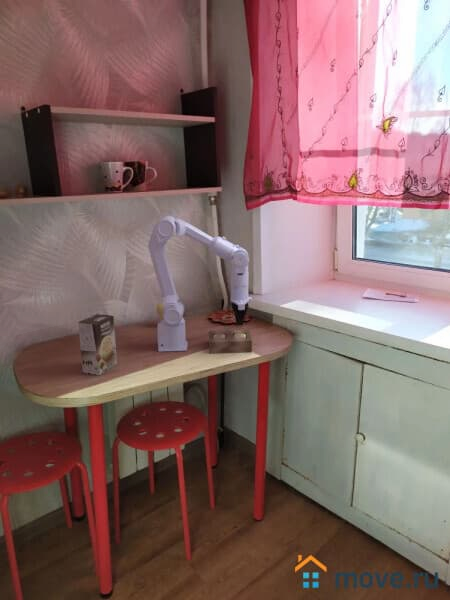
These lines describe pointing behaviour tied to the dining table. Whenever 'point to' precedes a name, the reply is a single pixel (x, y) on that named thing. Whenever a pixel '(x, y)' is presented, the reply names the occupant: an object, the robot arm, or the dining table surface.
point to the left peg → (218, 336)
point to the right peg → (239, 335)
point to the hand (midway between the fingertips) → (239, 324)
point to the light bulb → (160, 311)
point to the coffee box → (97, 344)
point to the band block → (230, 342)
